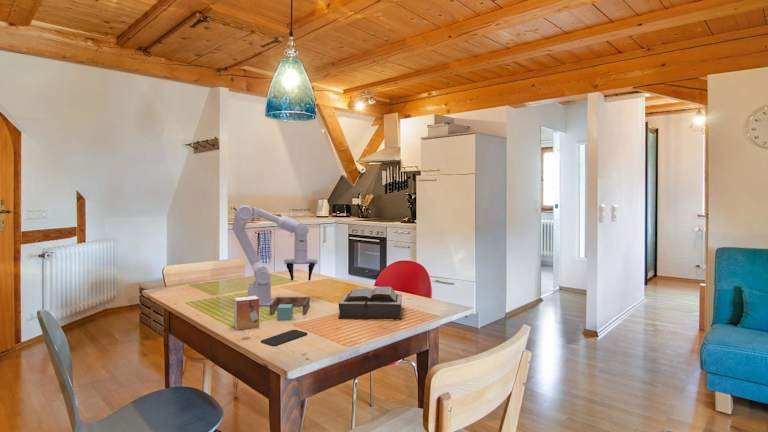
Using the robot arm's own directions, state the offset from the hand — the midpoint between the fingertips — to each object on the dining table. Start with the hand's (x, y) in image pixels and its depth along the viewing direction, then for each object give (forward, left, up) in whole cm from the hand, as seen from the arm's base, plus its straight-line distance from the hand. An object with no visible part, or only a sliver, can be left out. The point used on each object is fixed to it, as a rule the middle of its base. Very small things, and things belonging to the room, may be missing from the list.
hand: (300, 280), depth 195 cm
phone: (+2, -51, -10) cm, 52 cm away
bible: (+31, -21, -10) cm, 39 cm away
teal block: (-2, -28, -10) cm, 30 cm away
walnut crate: (-2, -16, -9) cm, 19 cm away
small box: (-14, -38, -10) cm, 42 cm away
